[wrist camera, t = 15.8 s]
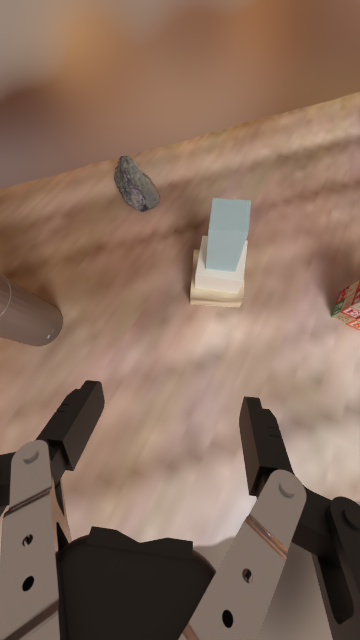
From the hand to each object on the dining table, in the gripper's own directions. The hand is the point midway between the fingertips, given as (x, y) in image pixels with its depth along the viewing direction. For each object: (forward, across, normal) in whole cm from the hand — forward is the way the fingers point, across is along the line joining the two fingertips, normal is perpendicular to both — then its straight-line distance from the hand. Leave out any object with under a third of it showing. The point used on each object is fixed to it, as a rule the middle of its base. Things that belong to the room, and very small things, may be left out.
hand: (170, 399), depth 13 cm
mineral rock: (+55, +16, -11) cm, 58 cm away
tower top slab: (+35, -5, +2) cm, 35 cm away
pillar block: (+31, -5, -1) cm, 31 cm away
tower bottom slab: (+38, -4, +6) cm, 39 cm away
